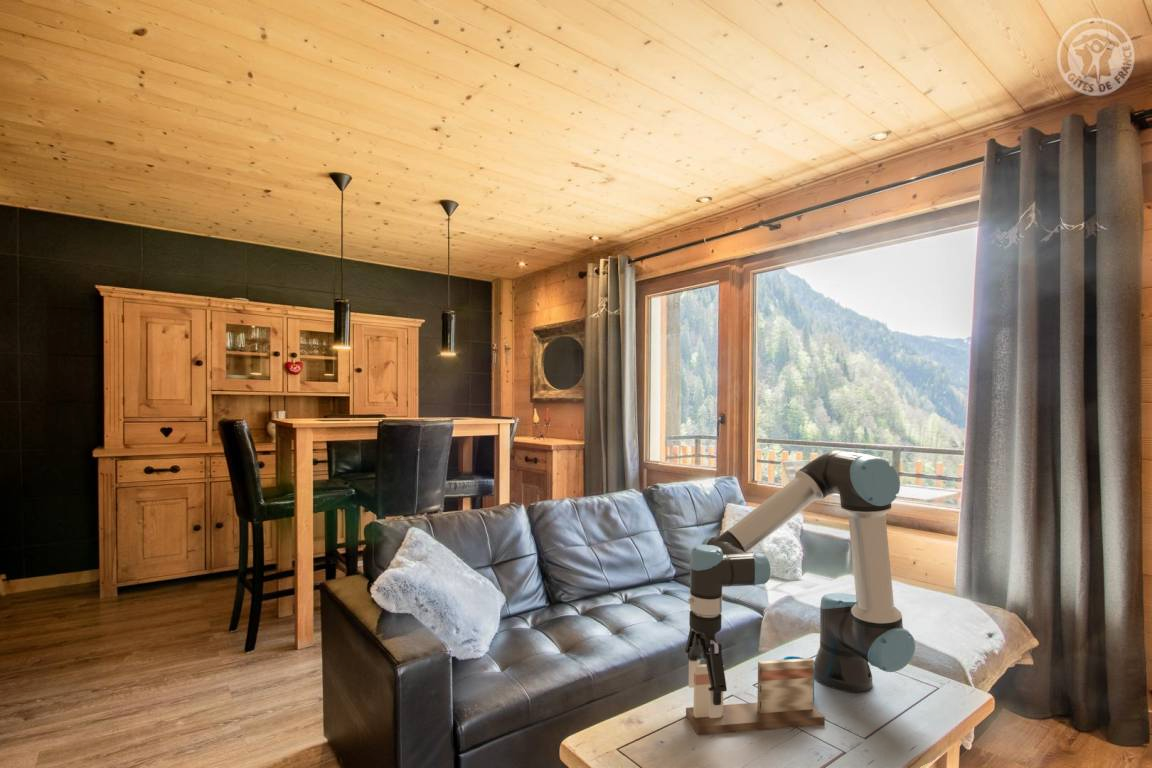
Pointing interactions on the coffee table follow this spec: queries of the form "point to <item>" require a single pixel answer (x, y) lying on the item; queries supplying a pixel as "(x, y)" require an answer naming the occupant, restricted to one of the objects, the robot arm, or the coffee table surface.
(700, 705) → the stub
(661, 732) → the coffee table surface
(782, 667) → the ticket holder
